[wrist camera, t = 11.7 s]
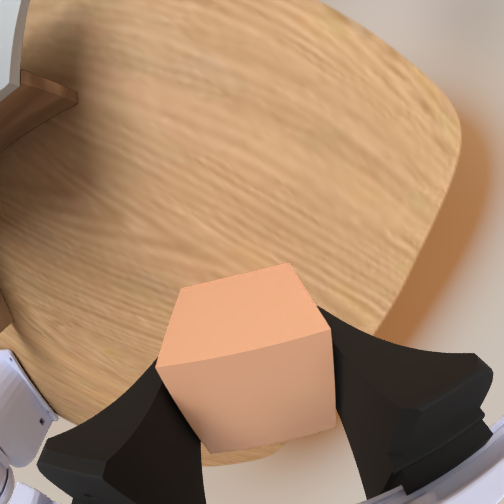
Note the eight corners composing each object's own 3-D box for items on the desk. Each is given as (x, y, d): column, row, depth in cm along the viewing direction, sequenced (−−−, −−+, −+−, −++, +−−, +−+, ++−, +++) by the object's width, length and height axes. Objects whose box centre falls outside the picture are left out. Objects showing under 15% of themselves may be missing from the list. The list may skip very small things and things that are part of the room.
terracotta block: (303, 348, 12) (336, 427, 8) (212, 369, 12) (210, 453, 8) (288, 262, 11) (330, 329, 6) (181, 288, 11) (155, 367, 6)
